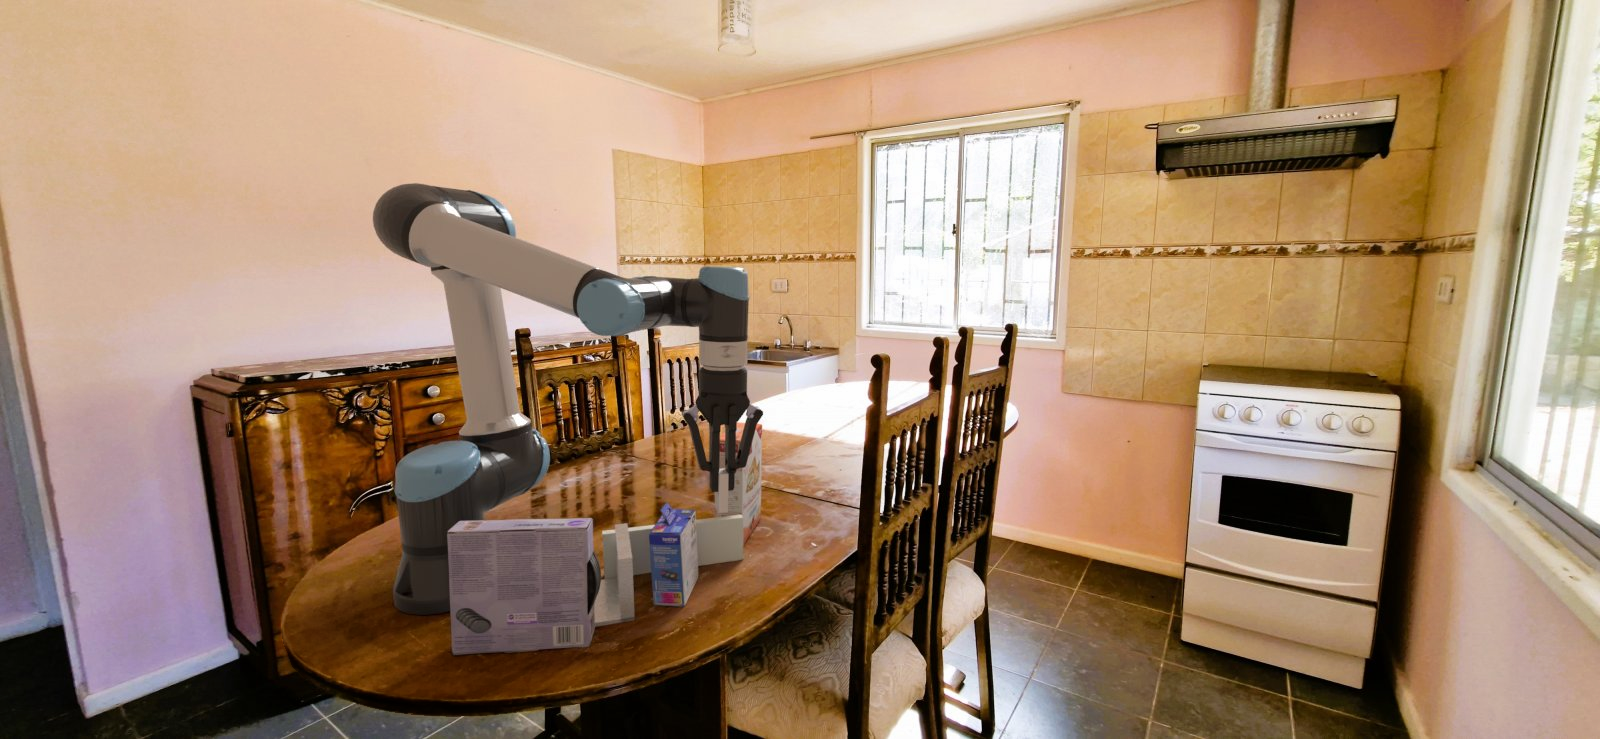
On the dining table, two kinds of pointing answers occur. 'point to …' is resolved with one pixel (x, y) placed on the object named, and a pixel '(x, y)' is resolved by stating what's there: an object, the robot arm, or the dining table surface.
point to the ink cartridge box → (673, 556)
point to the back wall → (713, 544)
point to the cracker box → (745, 483)
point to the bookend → (617, 585)
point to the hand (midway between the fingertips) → (721, 509)
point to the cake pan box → (522, 584)
